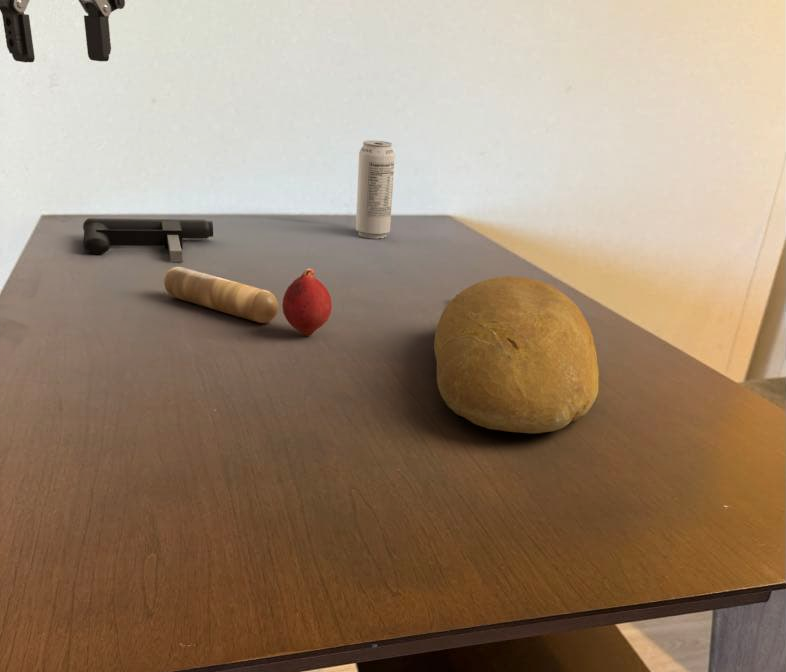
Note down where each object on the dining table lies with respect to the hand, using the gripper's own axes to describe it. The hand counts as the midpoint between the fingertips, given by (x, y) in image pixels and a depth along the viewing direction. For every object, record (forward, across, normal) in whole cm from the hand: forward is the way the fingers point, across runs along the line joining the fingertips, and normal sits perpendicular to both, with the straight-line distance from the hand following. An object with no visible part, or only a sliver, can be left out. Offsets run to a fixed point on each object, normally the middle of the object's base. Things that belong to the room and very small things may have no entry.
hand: (62, 61), depth 80 cm
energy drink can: (+28, -70, -10) cm, 76 cm away
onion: (+28, -20, +14) cm, 37 cm away
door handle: (+28, -35, -28) cm, 53 cm away
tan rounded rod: (+28, -20, 0) cm, 34 cm away
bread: (+28, -24, +40) cm, 55 cm away
